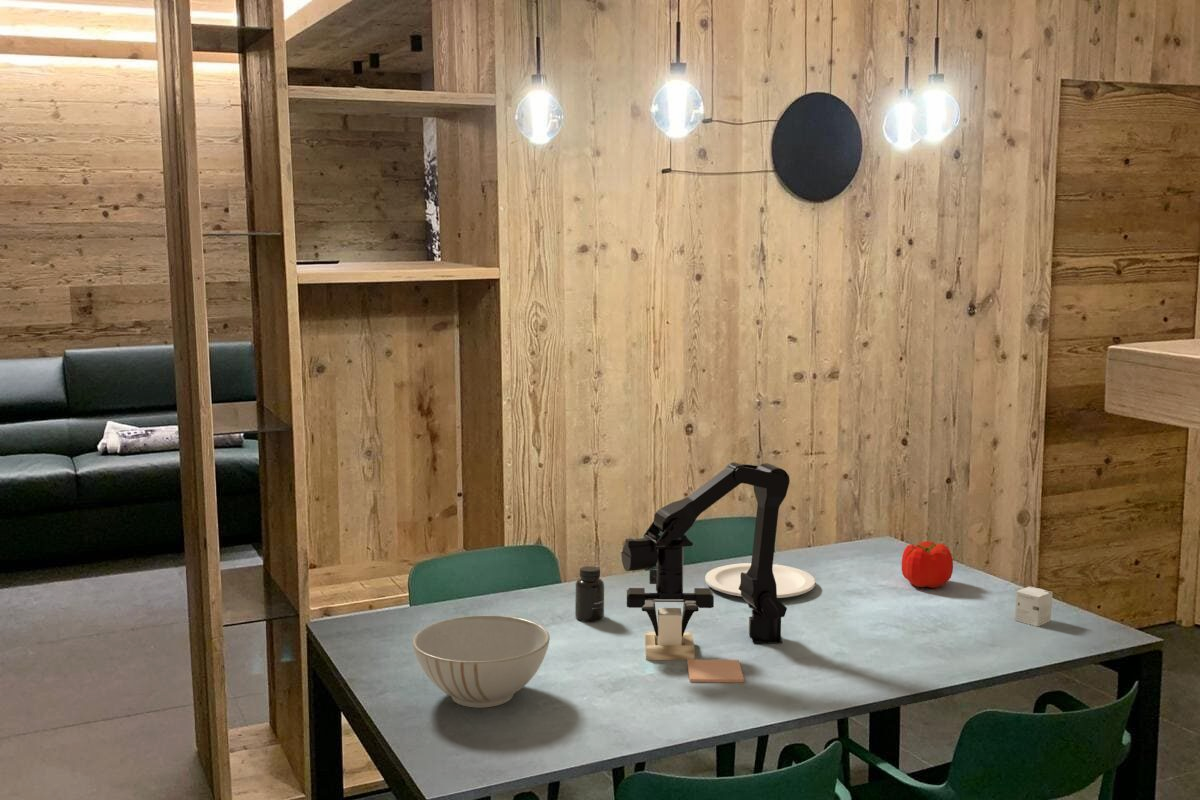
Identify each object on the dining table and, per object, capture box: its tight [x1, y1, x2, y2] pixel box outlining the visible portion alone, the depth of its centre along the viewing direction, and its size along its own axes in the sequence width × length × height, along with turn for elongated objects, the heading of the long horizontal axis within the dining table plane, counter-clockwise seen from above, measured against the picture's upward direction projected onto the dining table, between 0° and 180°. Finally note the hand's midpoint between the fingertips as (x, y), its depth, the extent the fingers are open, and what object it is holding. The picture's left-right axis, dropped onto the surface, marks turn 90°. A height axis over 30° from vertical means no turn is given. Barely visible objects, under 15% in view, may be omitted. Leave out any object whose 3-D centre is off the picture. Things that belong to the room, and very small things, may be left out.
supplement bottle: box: [574, 565, 605, 623], centre depth 282 cm, size 7×7×12 cm
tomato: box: [901, 540, 954, 589], centre depth 307 cm, size 14×13×10 cm
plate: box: [704, 562, 816, 599], centre depth 307 cm, size 28×28×2 cm
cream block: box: [657, 607, 683, 645], centre depth 260 cm, size 5×5×9 cm
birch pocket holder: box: [644, 631, 696, 661], centre depth 261 cm, size 10×10×2 cm
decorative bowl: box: [412, 614, 550, 709], centre depth 236 cm, size 27×27×12 cm
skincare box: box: [1014, 586, 1054, 627], centre depth 279 cm, size 6×6×7 cm
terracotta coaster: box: [686, 659, 745, 683], centre depth 249 cm, size 11×11×1 cm
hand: (669, 635), depth 260 cm, fingers closed on cream block, 5 cm apart
